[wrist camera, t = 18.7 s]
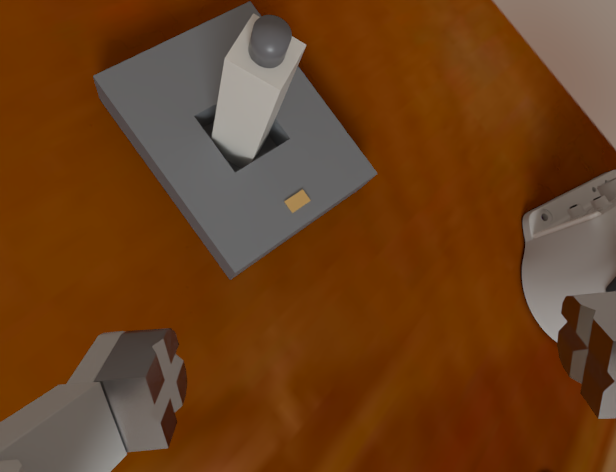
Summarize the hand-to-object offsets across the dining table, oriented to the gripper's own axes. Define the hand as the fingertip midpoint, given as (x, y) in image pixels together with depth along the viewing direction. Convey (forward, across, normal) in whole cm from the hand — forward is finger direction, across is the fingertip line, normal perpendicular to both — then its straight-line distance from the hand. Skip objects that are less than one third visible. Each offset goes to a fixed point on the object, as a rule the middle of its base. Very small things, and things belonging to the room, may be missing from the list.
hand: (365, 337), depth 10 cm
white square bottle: (+36, +9, +5) cm, 38 cm away
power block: (+37, +9, +5) cm, 38 cm away
